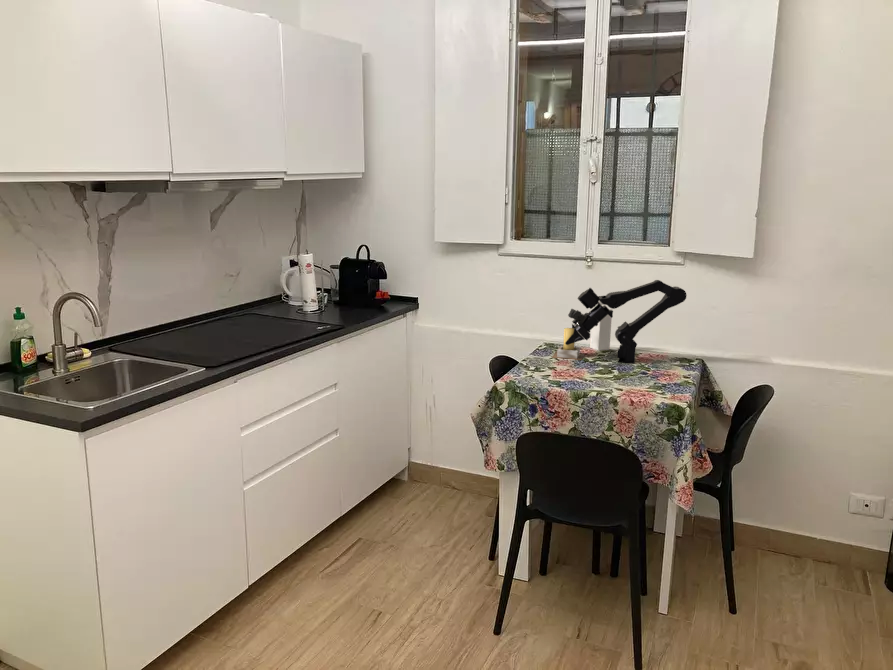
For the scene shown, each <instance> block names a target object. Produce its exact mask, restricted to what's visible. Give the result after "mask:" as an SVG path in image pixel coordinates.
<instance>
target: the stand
mask: <svg viewBox="0 0 893 670" xmlns="http://www.w3.org/2000/svg"><path fill="white" fill-rule="evenodd" d="M580 349H581V348H580V346H574V351H573V350H563V345H560V346H558V348H557V349H556V351H555V352H554V353H553V355H552V356H551V358H552V359H562V360H576V361H582V360H583V358H584V356H585V353H580V352H581V351H580Z"/></svg>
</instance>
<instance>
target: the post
mask: <svg viewBox="0 0 893 670" xmlns="http://www.w3.org/2000/svg"><path fill="white" fill-rule="evenodd" d="M573 332H574V328H572V327H565V328H564V329H563V345H562V346H563V350H573V351H574V347H575V343H576V342H574V343H571V344H569V345H566V344H565V343H566V341H567V340H568V339H569V338H570V336H571V335H572V334H573Z"/></svg>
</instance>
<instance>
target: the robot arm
mask: <svg viewBox="0 0 893 670" xmlns="http://www.w3.org/2000/svg"><path fill="white" fill-rule="evenodd" d="M656 292H660V293H662V294H664V295H663V296H662V298H661V300H659V301H658V302H657V303H656V304H654V305H653V306H652V307H650V308H649V309H648V310H646V311H645V312H643V313H642V314H641V315H639V316H638V317H637V318H635V319H634V320H633V321H631V322H629V323H628V322H627V321H625V320H624V322H622V324H621V325H619V326H617V329H616V330H615V332H614V336H615V339H616V340H617V341H618V342H619V344H620V345H619V348H617V355H616V356H617V357H616V358H617V360H618V361H617V362H618V363H625V364H626V363H629V364H635V362H636V351H637V350H636V347H637V345H638V343H637V342H636V341H635V340H634V338H635V337H636V336H637V334H638V333H639V331H641V330H642V329H644V328H645V327H646V326H647V325H648V324H650V323H652V322H653V320H655V319H656V318H658V317H659V316H661V315H662V314H663V313H665V312H666V311H667V310H668V309H671V308H673V307H675V306H678V305H681V304H682V303H684V302H685V301H686V299H687V292H686V291H685V290H684V289H683V288H681V287H679V286H672V285H669V284H666V283H665V282H663V281H662V280H659V279H655V280H654V281H651V282H648V283H645V284H642V285H639V286H636V287H633V288H630V289H627V290H620V291H612V292H611V291H610V292H609V293H607V294H606V295H599V296H598V295H597V294H596V292H595V291H594V290H593V289H592V287H588V288H587V289H586V290H585V291H583V292H582V293H581V294H579V296H578V297H577V300H578V301H579V302H580V303H581V304H582V305H583V306H584V307H585V309H587V310H588V309H590V311H589V312H585V313H582V311H580V310H578V309H574V308H571V309H570V311H569V313H568V315H567V316H568V318H570V319H573V320H572V321H571V322H572V323H571V328H574V332H573V334H572V335H571V336H570V338H569V339H568V340H567V341H566V343H565V344H566V345H569V344H571V343H574V342H575V343H577V342H579V341H585V340H586V341H588V340H589V339H591V329H592V328H593V327H595V326H597V325H598V323H599V322H600V321H601V320H602V319H603V318H605V317H606V316H607V315H609V316H610V317H611V318H613V313H614V310H615V309H617V308H619V307H622V306H623V305H625V304H626V303H628V302H629V301H632V300H635V299H638V298H640V297H644V296H647V295H650V294H653V293H656ZM598 301H600V302H601V303H602V304H605V305H608V306H609V307H610V308H612V310H609V309H608V308H607V307H606V306H605V305H604V306H602V305H601V304H600V303H599V302H598ZM597 304H598V305H597ZM596 305H597V306H596ZM593 307H594V308H593ZM592 308H593V309H592ZM613 309H614V310H613Z"/></svg>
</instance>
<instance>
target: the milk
mask: <svg viewBox="0 0 893 670" xmlns="http://www.w3.org/2000/svg"><path fill="white" fill-rule="evenodd" d="M598 302H599V303H600V304H601V305H602V306H604V305H605V304H602V303H601V302H600V301H598ZM597 305H598V304H597ZM597 305H596V306H597ZM605 306H606V307H607V308H608V309H609V310H613V309H612V308H610V307H609V306H608V305H605ZM593 308H594V307H593ZM593 308H592V309H593ZM592 309H591V310H592ZM612 318H613V317H612ZM612 318H611V317H610V316H609V315H607V316H606V317H605V318H603V319H602V320H601V321H600V322H599V323H598V325H597V326H595V327H593V328H592V329H591V330H590V344H589V348H590V349H593V350H595V351H607V350H610V349H611V333H612Z"/></svg>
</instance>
